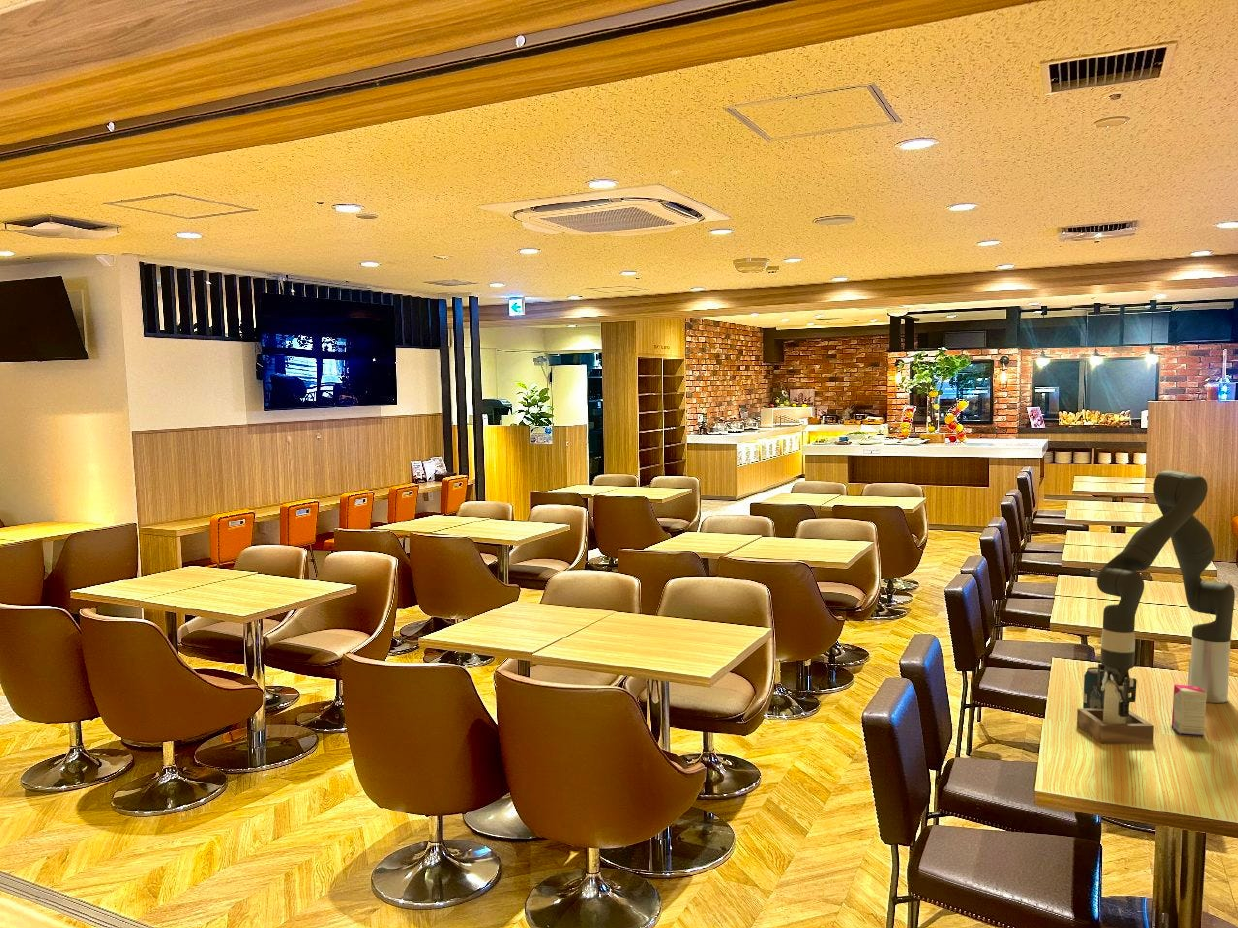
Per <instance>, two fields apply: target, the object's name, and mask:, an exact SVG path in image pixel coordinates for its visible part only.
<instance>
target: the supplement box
mask: <svg viewBox="0 0 1238 928" xmlns="http://www.w3.org/2000/svg"><path fill="white" fill-rule="evenodd" d="M1173 685H1174V686H1173V699H1172V700H1173V701H1172V716H1171V717H1172V718H1171V728H1172V730H1174V731H1175V732H1176V733H1177V734H1178V735H1179V736H1186V737H1188V736H1189V737H1202V738H1203V737H1205V728H1206V727H1205V725H1206V711H1207V702H1206V697H1207V693H1206V692H1205V691H1203V690H1202V689H1201V688H1199V687H1198V686H1188V685H1185V684H1183V685H1182V684H1173Z"/></svg>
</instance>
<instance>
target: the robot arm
mask: <svg viewBox="0 0 1238 928" xmlns="http://www.w3.org/2000/svg"><path fill="white" fill-rule="evenodd" d="M1152 487H1153V488H1152V490H1153V497H1154V500H1155V502H1156V505H1157V507H1158V509H1159V511H1160V513H1161V516H1160V517H1158V518H1156V519H1155V520H1153V521H1150V522H1148V523H1146V524H1145V525H1143V526H1142V527H1141V528H1139V529H1138V530H1137V531H1136V532H1135V533H1134V534H1133V535H1132V536H1131V538H1130V539H1129V541H1128V542H1127V544H1126V545H1125V547H1123V549H1122V551H1121V552H1119V553H1118V554H1117V555H1116V556H1115V557H1113V558H1112V559H1111V560H1109V561H1108V562H1107V563H1106V564H1104V566H1102V568H1101V569H1100V570H1099V572H1098V573H1097V577H1096V586H1097V588H1098V590H1099V591H1100V592H1101V593H1104V594H1106V595H1109V596H1115V597H1117V598H1118V597H1120V601H1119V603H1118V604H1115V603H1114V604H1108V605H1106V606H1105V607H1104V608H1103V613H1102V615H1103V616H1102V629H1101V637H1100V659H1099V662H1100V663H1098V664H1097V667H1098V686H1101V690H1102V691H1103V702H1102V704H1103V706H1104V695H1105V684H1106V683H1107V682H1108V680H1110V681H1112V682H1113V684H1114V685H1115V692H1116V693H1117V694H1118V698H1119V712H1118V715H1119V716H1121V717H1128V716H1129V710H1130V703H1135V702H1136V699H1137V698H1136V697H1137V696H1136V695H1137V683H1138V681H1137V679H1136V678H1132V677H1130V675H1129V674H1130V673H1129V670H1131V669H1133V668H1134V667H1135V655H1136V654H1135V653H1136V651H1135V650H1136V637H1135V635H1136V634H1135V625H1136V624H1135V623H1136V620H1135V619H1136V613H1137V611H1138V607H1139V604H1140V602H1141V599H1142V596H1143V594H1144V591H1145V582H1144V578H1143V576H1142V575H1141V573H1139V572H1140V571H1141V572H1142V571H1146V570H1148V569H1149V568H1150V567H1151V565H1152V564H1153V562H1154V561H1155V560H1156V558H1157V556H1159V554H1160V552H1161V550H1162V549H1163V548H1164V546H1165V545H1166V544H1167V542H1169V540H1170V539H1171V543H1172V547H1173V551H1174V554H1175V557H1176V559H1177V561H1178V564H1179V565H1178V566H1179V568H1180V572H1181V575H1182V580H1183V587H1184V592H1185V593H1184V594H1185V598H1186V602H1187V605H1188V606H1189V608H1190V610H1192V611H1193V612H1196V613H1201V614H1208V615H1212V616H1215V618H1214V620H1213V621H1211V622H1206V623H1205V622H1204V623H1200V624H1199V623H1198V624H1195V625H1193V626H1192V628H1191V640H1190V641H1191V645H1190V646H1191V647H1190V648H1191V649H1190V660H1188V677H1187V686H1198V687H1199V688H1201V689H1202V690H1203V691H1205V692H1206V693H1207V697H1206V703H1215V704H1218V703H1219V704H1220V703H1221V704H1222V703H1227V702H1228V698H1229V697H1228V694H1229V680H1230V679H1229V678H1230V677H1229V675H1230V660H1231V659H1230V656H1231V641H1232V640H1231V639H1232V638H1231V637H1232V629H1233V615H1234V608H1235V600H1236V599H1235V598H1236V595H1235V588H1234V587H1233V585H1232V584H1230V583H1226V582H1221V581H1220V582H1219V581H1213V580H1205V579H1203V578H1201V575H1202V573H1203V572H1204V571H1205V569H1207V568H1208V567H1209V565H1210V564H1211V563H1212V562H1213V560H1214V558H1215V556H1216V555H1215V554H1216V549H1215V546H1214V541H1213V538H1212V535H1211V533H1210V531H1209V529H1208V528H1207V527H1206V526H1205V525H1204V524H1203V523H1202V522H1201V521H1200V520H1199V519H1198V518H1197V517H1196V516H1195V515H1194V514H1195V513H1196V512H1197V511H1198V510H1199V508H1201V506H1202V505H1203V503H1204V501H1205V500H1206V498H1207V494H1208V483H1207V480H1206V478H1204V477H1203V476H1202V475H1199V474H1193V473H1187V472H1181V471H1177V470H1169V469H1167V470H1162V471H1160V472H1158V473H1157V475H1156V476H1155V478H1154V480H1153V486H1152ZM1103 677H1104V678H1103ZM1102 678H1103V680H1102ZM1118 685H1123V686H1124V689H1123V690H1121V689H1119V687H1118ZM1122 692H1123V696H1122Z"/></svg>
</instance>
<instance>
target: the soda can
mask: <svg viewBox="0 0 1238 928" xmlns="http://www.w3.org/2000/svg"><path fill="white" fill-rule="evenodd" d="M1083 677H1084V678H1083V679H1084V680H1083V682H1084V683H1083V699H1082V700H1083V701H1082V702H1083V703H1082V704H1083V705H1082V708H1104V706H1103V704H1102V702H1103V691H1102V690H1101V686H1098V666H1096V667H1094V666H1093V667H1087V669H1086V672H1085V673H1084V676H1083ZM1103 678H1104V677H1103ZM1103 678H1102V680H1103Z"/></svg>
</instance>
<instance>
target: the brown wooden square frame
mask: <svg viewBox="0 0 1238 928" xmlns="http://www.w3.org/2000/svg"><path fill="white" fill-rule="evenodd" d="M1076 711H1077V713H1076V726H1077V727H1078V728H1080V730H1083V731H1084V732H1085V733H1086V734H1088V735H1089V736H1090V737H1092V738H1093V737H1094V739H1095V740H1096V741H1097V742H1098V743H1100V744H1102V745H1115V744H1116V745H1119V744H1120V745H1127V744H1128V745H1129V744H1131V745H1132V744H1133V745H1134V744H1136V745H1137V744H1138V745H1139V744H1140V745H1141V744H1143V745H1144V744H1146V745H1147V744H1154V733H1155V732H1154V731H1155V730H1154V728H1155V725H1153V724H1152V723H1151V722H1149V721H1147V720H1145V719H1144V718H1142V717H1141V716H1139V715H1138V714H1136V713H1134V712H1132V711H1131V710H1130V709H1129V716H1128V717H1126V724H1105V723H1104V722H1103V711H1104V708H1083V707H1081V708H1077V710H1076Z"/></svg>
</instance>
